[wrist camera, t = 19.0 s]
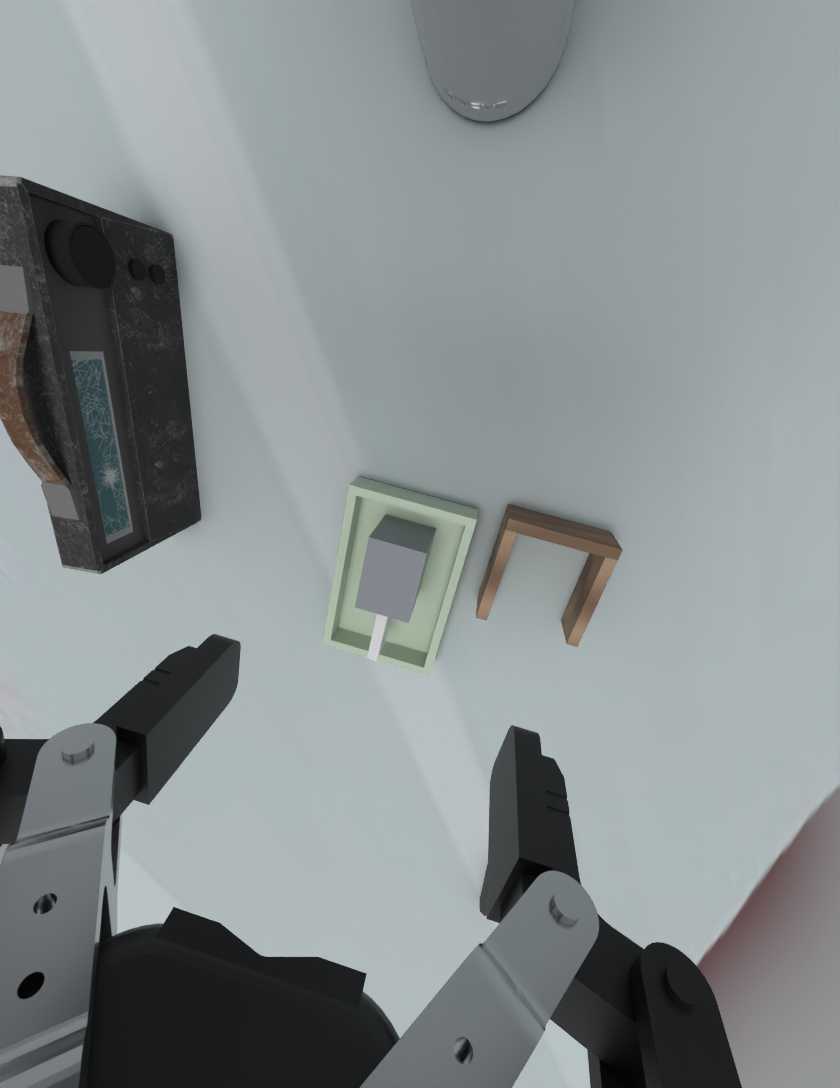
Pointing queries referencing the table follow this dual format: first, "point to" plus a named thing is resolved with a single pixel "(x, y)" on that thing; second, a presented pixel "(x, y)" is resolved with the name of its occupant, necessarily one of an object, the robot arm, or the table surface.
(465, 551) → the tray
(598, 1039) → the robot arm
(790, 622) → the table surface
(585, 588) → the u-shaped wooden frame
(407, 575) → the grey block with stick
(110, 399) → the radio
